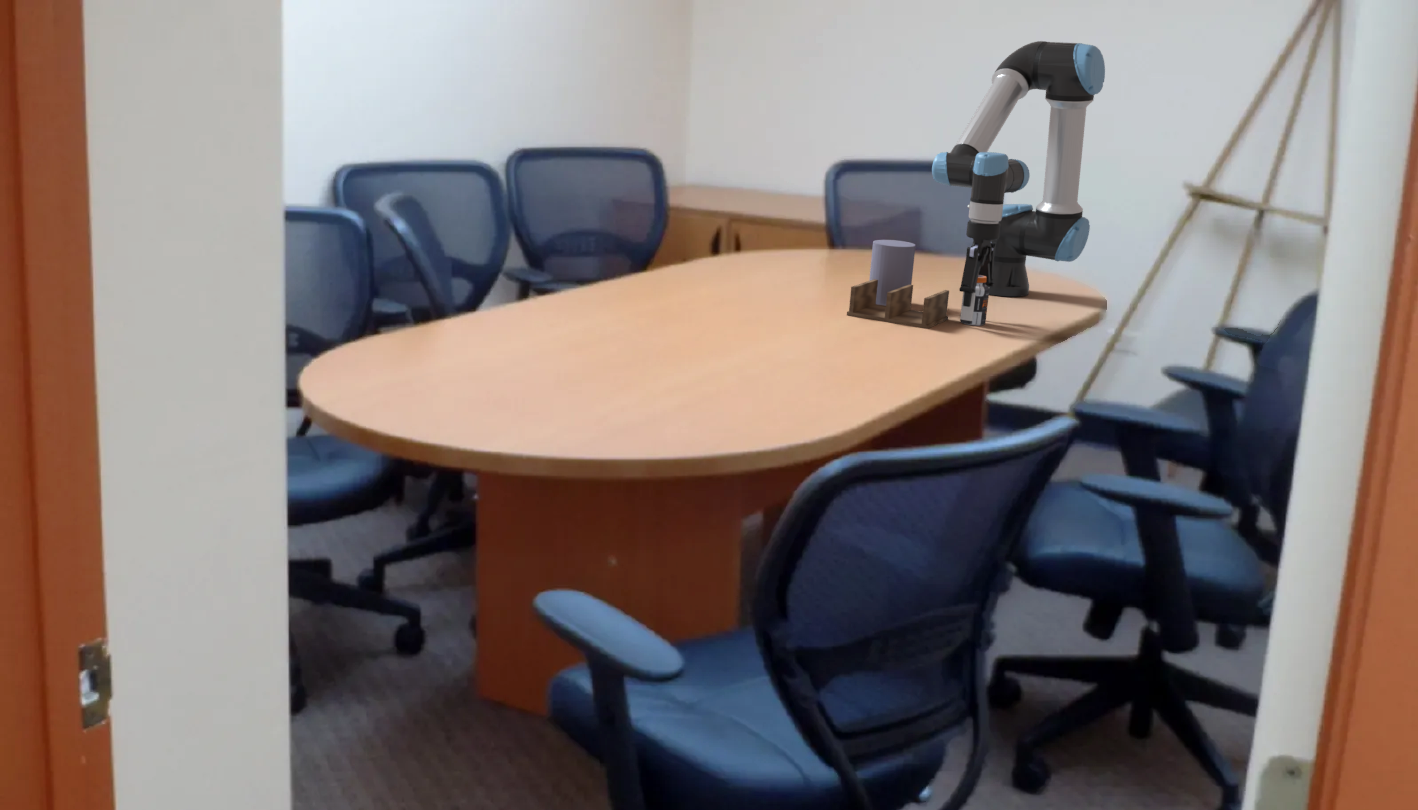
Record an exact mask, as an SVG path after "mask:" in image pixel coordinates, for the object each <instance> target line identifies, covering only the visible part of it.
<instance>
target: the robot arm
mask: <svg viewBox="0 0 1418 810" xmlns="http://www.w3.org/2000/svg"><path fill="white" fill-rule="evenodd" d="M1105 78H1106V65H1105V59H1104V56H1103V54H1102V52H1101V50H1100V49H1099V47H1098V46H1096V45H1093V44H1088V43H1087V44H1086V43H1081V42H1061V41H1060V42H1057V41H1043V40H1040V41H1039V40H1038V41H1033V42H1030V43H1027V44H1024V45H1022V46H1021V47H1019V48H1018V49H1016V50H1015V51H1013V52H1012V53H1011V54H1009V55H1008V56H1007V57H1006V58H1005V59H1004V60H1003V61H1001V63H999V65H998V67H997V68H996V70H995V71H994V73H993V74H992V77H991V86H990V87H989V88H988V90H987V92H986V94H985V95H984V98H983V99H982V101H981V102H980V103H979V105H978V106H977V109H976V111H974V114H973V116H972V117H971V118H970V119H969V122H968V123H967V125H966V127H965V128H964V130H963V131H962V133H961V135H960V137H959V138H958V140H957V141H956V143H955V145H954V147H952V150H951V151H950V152H949V151H944V152H943V151H942V152H940V153H937V154H936V155H935V157H934V158H933V162H932V167H931V175H932V178H933V180H934V182H936V183H937V184H941V185H945V186H949V187H959V188H961V187H962V188H969V189H971V193H970V200H969V201H970V202H969V204H968V205H967V209H969V211H968V218H969V219H970V220H968V221H967V224H966V225H967V226H966V237H968V238H969V239H972V240H973V241H972V244H971V246H967V248H966V256H965V261H964V268H963V271H962V272H963V273H962V277H961V283H960V287H959V288H958V289H959V292H962V299H961V307H960V308H961V309H960V315H961V316H960V318H959V320H960V319H961V320H967V321H972V320H973V311H974V303H975V294H976V293H974V291H975V287H976V283H977V279H978V275H982V276H986V277H987V280H986V285H987V286H988V287H989V296H999V297H1025V296H1028V295H1029V292H1030V282H1029V277H1028V272H1027V268H1026V262H1027V257H1032V258H1033V257H1034V258H1039V259H1046V260H1052V261H1056V262H1065V263H1066V262H1068V263H1069V262H1073V261H1076V259H1078V258H1080V257H1079V256H1081V254H1082V253H1083V251H1084V249H1085V246H1087V245H1086V244H1087V242H1088V238H1089V235H1090V230H1091V228H1090V227H1091V225H1090V220H1089V219H1088V218H1087V217H1084V216H1083V213H1084V211H1083V210H1084V208H1083V207H1082V206H1081V205H1080V204H1079V202H1078V198H1079V190H1080V178H1081V167H1082V157H1083V147H1084V145H1083V144H1084V137H1085V128H1086V127H1085V126H1086V115H1087V107H1088V106H1089V105H1090V104H1091V103H1093V102H1094V99H1095V97H1094V96H1095V95H1098V94H1099V93H1101V91H1102V90H1103V86H1104V82H1105ZM1032 90H1042V91H1045V97H1044V99H1045V100H1046V102H1047V103H1048V104H1049V105H1050V110H1049V125H1048V135H1047V136H1048V137H1047V148H1046V159H1045V168H1044V170H1045V171H1044V182H1043V194H1042V201H1040V202H1039V203H1038V204H1037V205H1036V206H1035V210H1034V208H1033V205H1032V204H1029V203H1008V204H1004V200H1005V194H1008V193H1011V194H1013V193H1016V192H1019V191H1021V190H1023V189H1024V188H1025V187H1026V186H1027V184H1028V183H1029V180H1030V176H1031V175H1030V170H1029V167H1028V165H1027V164H1026V163H1025V162H1023V161H1022V160H1019V159H1015V158H1014V159H1013V158H1009V156H1008V154H1005V153H1001V152H991V151H989V149H990V148H991V146H992V144H993V142H994V141H995V139H996V138H997V136H998V134H999V133H1000V131H1001V130H1002V128H1003V126H1004V125H1005V123H1006V121H1007V120H1008V118H1009V116H1010V115H1011V113H1012V111H1013V110H1014V108H1015V106H1016V104H1017V103H1018V102H1019V100H1022V99H1023V98H1025V97H1026V96H1027V94H1028V93H1029V91H1032ZM968 285H969V286H968Z"/></svg>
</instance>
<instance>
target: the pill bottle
mask: <svg viewBox="0 0 1418 810" xmlns="http://www.w3.org/2000/svg"><path fill="white" fill-rule="evenodd" d="M986 280H987V277H986V276H982V275H978V279H977V283H976V287H975V291H974V293H976V294H975V303H974V311H973V320H972V321H967V320H961V319H960V318H959V322H960V323H961V324H964V325H967V326H984V325H985V324H986V321H987V320H986V319H987V314H988V313H987V312H988V304H989V297H990V295H989V287H988V286H987V285H986ZM968 286H969V285H968ZM960 316H961V314H960Z"/></svg>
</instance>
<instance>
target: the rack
mask: <svg viewBox="0 0 1418 810" xmlns="http://www.w3.org/2000/svg"><path fill="white" fill-rule="evenodd" d="M877 287H878V280H877V279H873V280H870V281H869V280H868V281H865V282H861V283H859V284H856V285H852V286H850V294H849V295H850V296H849V307H848V308H849V309H848V311H846V316H850V317H856V318H862V319H868V320H874V321H879V322H886V323H891V324H897V325H898V324H899V325H903V326H910V327H916V328H922V329H931V328H932V327H934V326H937V325H938V324H941V323H943V322H946V321H947V320H949V315H947V313H948V306H949V304H948V303H949V295H950V290H947V289H943V290H941V291H939V292H937V293H934V294H932V295H929V296H927V297H924V299H923V306H922V307H923V308H922V311H919V310H916V309H915V310H913V309H912V301H913V292H914V284H911V285H907V286H904V287H901V288H898V289H896V290H893V291H890V292H887V300H886V306H884V305H878V304H876V297H877Z"/></svg>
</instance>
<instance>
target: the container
mask: <svg viewBox="0 0 1418 810" xmlns="http://www.w3.org/2000/svg"><path fill="white" fill-rule="evenodd" d="M915 253H916V244H915V243H914V242H908V241H904V240H897V239H896V240H895V239H876V240H873V242H872V249H871V261H870V269H869V280H868V281H870V280H873V279H877V280H878V287H877V297H876V304H878V305H884V306H886V300H887V292H890V291H893V290H896V289H898V288H901V287H904V286H907V285H913V284H912V283H913V274H914V265H915V263H914V262H915Z"/></svg>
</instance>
